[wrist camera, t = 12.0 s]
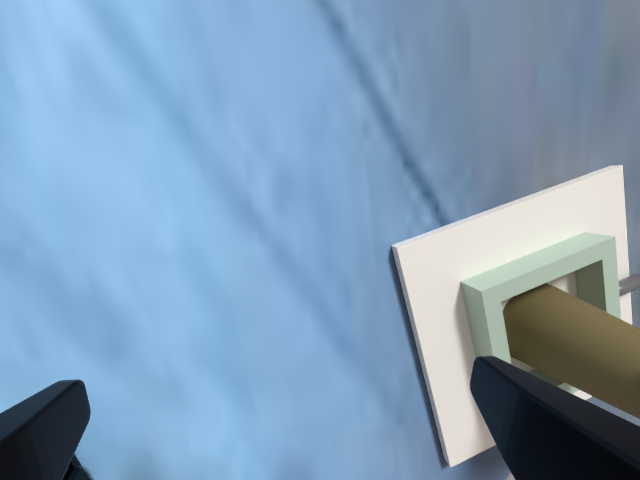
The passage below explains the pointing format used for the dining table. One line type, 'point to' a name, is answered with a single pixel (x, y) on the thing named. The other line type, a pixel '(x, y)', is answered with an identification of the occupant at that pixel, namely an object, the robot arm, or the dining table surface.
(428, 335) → the dock plate
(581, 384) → the cork
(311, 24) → the dining table surface
